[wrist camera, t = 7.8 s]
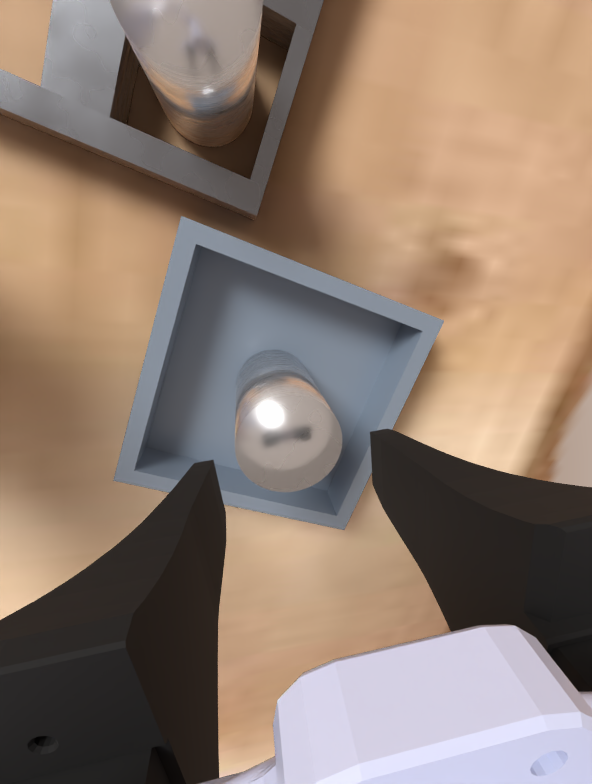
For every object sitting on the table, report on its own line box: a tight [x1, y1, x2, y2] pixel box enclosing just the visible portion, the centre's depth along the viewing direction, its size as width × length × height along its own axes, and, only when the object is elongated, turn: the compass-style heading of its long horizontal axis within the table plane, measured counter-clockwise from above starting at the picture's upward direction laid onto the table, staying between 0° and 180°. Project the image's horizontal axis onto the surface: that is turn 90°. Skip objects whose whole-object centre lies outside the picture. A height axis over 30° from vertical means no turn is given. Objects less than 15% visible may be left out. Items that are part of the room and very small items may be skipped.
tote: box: [113, 216, 444, 530], centre depth 19 cm, size 13×13×3 cm
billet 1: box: [109, 0, 263, 147], centre depth 13 cm, size 4×4×7 cm
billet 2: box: [235, 350, 342, 492], centre depth 17 cm, size 4×4×7 cm
